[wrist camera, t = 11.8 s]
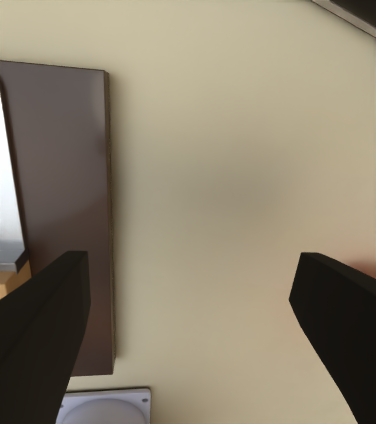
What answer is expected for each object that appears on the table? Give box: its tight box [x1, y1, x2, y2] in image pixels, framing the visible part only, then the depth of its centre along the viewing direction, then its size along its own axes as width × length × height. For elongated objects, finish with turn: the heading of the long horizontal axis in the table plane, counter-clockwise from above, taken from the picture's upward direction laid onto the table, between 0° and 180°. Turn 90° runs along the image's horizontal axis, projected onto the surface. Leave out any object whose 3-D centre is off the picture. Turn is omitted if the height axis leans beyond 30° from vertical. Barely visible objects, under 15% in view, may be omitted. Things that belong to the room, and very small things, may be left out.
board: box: [0, 60, 115, 377], centre depth 17 cm, size 21×12×2 cm, turn 175°
